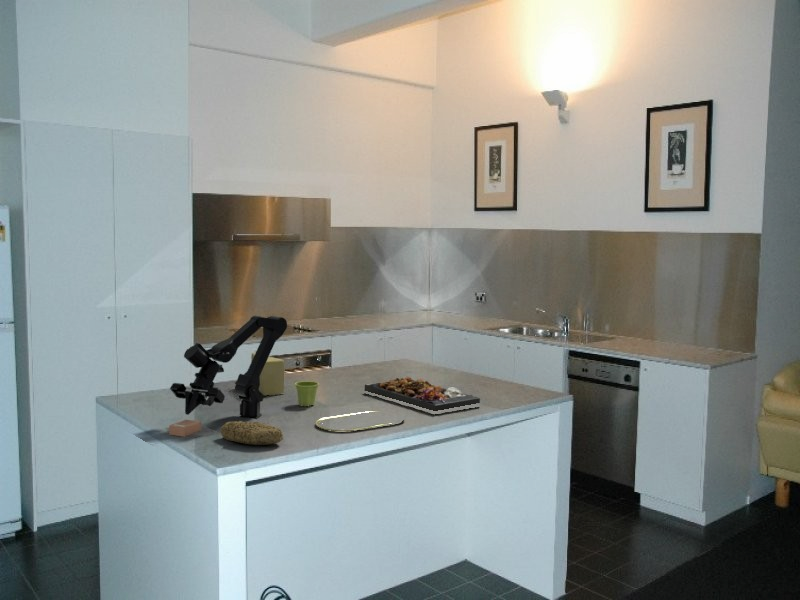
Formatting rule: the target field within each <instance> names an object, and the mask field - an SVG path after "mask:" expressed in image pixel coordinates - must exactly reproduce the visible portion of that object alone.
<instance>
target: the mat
mask: <svg viewBox="0 0 800 600" xmlns="http://www.w3.org/2000/svg"><path fill="white" fill-rule="evenodd" d="M165 429H166V430H168V431H169V427H165ZM217 434H220V432H219V431H216V430H214V429H212V428H210V427H208V426H206V425H203V424H201V431H198V432H196V433H193V434H190V435H188V436H185V437H183V436H180V437H182V438H184V439H185V440H186V439H194V438H197V437H198V438H199V437H205V436H211V435H217Z"/></svg>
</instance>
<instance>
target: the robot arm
mask: <svg viewBox="0 0 800 600" xmlns="http://www.w3.org/2000/svg"><path fill="white" fill-rule="evenodd" d="M261 328H262V334H263V336H262V338H261V341H260V343H259V345H258V347H257V349H256V351H255V352H254V353H255V356H254V358H253V360H252V362H251V361H250V364H249V366H248V369H247V371H246V372H244V374H242V373H239V375H238V377H237V379H236V381H235V382H234V392H235V393H236V394H237V397H238V399H239V400H240V401H241V402H240V404H239V416H238V417H239V418H243V419H253V420H257V419H258V418H260V417H261V416H262V415H263V414H262V413H261V402H263V401H264V398H265V396H264V395H263V394H262V393H261V392H260V391H259V386H260V375H261V372H262V370H263V368H264V366H265V364H266V361H267V359H268V357H270V354H271V352H272V351H273V349H274V345H275V343H276V342H277V341H278V340H279V339H280V338H281V337H282V336H284V334H285V332H286V331H287V329H288V322H287V320H286V318H285V317H281V316H275V315H270V316H267V317H265V316H259V315H253V316H251V317H250V318H249V320H248V321H246V323H245V324H243V325H241V327H240V328H239V329H237V330H236V331H235V332H234V333H233V334H232V335H230V336H229V337H228V338H226V339H224V340H221V341H219V342H218V343H215V344H214V345H213V346H212V347H211V348H209V349H206V348H204V347H203V345H202V344H201V343H199V342H196V343H195V344H194V345H192V346H190V347H189V348H187V349H186V350H185V352H184V354H183V357H184V358H185V360H187V361H188V362H189V363H190V364H191V365H192V366H193V367H195V368H196V369H198V368H200V369H199V371H198V372H195V373H194V377H195V378H194V380H193V382H190V383H189V386H190V387H189V386H185V384H184V383H180V382H179V383H178V382H174V383H172V384H171V386H170V388H169V390H170V391H171V392H172V393H173V395H174V396H175V397H176V398H177V399H184V400H185V401H184V403H185V404H184V407H185V409H184V413H185V415H188V416H189V415H190V414H191V413H192V412H193V411H194V410H195V409H196V408H198V407H199V406H200V405H202V406H208V407H211V406H212V405H213V404H214V403H217V404H223V402H224V400H225V394H224V393H223V391H222V390H221V388H219V387H215V382H214V380H215V378H216V376H217V374H219V373H224V372H225V369H224V367H223V364H224V363H226V364H227V363H229V362H230V361H232V359H233V358H234V357H235V356H236V354H237V351H238V349H239V348H240V347H241V346H242V345H243V344H244V343H245V342H246V341H248V340H249V338H251V337H252V336H254V334H255V333H256V332H258V330H260V329H261ZM218 362H220V363H223V364H219V363H218Z"/></svg>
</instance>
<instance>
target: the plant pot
mask: <svg viewBox="0 0 800 600" xmlns="http://www.w3.org/2000/svg"><path fill="white" fill-rule="evenodd" d="M319 384H320V383H319V382H316V381H312V380H311V381H307V380H305V381H298V382H295V383H294V386H295V389H296V392H297V400H298V405H299V406H300V405H304V406H303V407H306V406H308V405H313V404H314V405H315V404H316V395H317V389H318V386H319ZM314 405H313V406H314ZM308 407H309V406H308Z"/></svg>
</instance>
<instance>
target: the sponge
mask: <svg viewBox="0 0 800 600" xmlns="http://www.w3.org/2000/svg"><path fill="white" fill-rule="evenodd" d="M219 431H220V432H219V433H220V435H221V436H222V438H223V439H225V440H226V441H230V442H231V441H232V442H235V443H240V444H245V445H252V446H253V445H254V446H269V445H273V444H278V443H280V442H282V441H283V440H284V433H283V431H282V430H281V428H280V427H275V426H273V425H271V424H267V423H261V422H258V421H247V422H245V421H243V420H238V421H237V420H235V421H227V422H225V423H224V424H223V425H221V427H220V430H219Z"/></svg>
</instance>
